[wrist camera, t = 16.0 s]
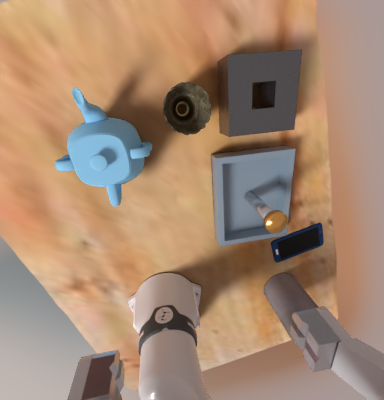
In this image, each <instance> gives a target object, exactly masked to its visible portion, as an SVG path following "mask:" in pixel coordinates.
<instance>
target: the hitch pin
mask: <svg viewBox="0 0 384 400" xmlns="http://www.w3.org/2000/svg"><path fill="white" fill-rule="evenodd" d="M244 198H245V200H246V201H247V202H248V203H249V204H250V205H251V206H252V207H253V208H254V209H255V210H256V212H257V213H258V214H259V215H260V216H261V217H262V218H263V219H264V220H263V224H264V227H265V228H266V229H267V230H268V231H269V232H270V233H279V232H281V231H283V230H284V229H285V228H286V226H287V225H288V217H287V216H286V215H285V214H284V213H283V212H282V211H280V210H273V209H272V208H270V207H269V206H268V205H267V204H266V203H265V202H264V201H263V200H262V199H261V198H259V197H258V196H257V195H256V194H255V193H254V192H253V191H248V192H246V193H245V195H244Z"/></svg>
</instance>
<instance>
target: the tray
mask: <svg viewBox="0 0 384 400" xmlns="http://www.w3.org/2000/svg"><path fill="white" fill-rule="evenodd" d="M295 150H296V149H295V148H292V147H288V146H285V145H283V146H275V147H267V148H259V149H250V150H242V151H234V152H225V153H217V154H211V166H212V186H213V205H214V225H215V238H216V240H217V242H218V244H219V247H221V246H227V245H233V244H239V243H244V242H250V241H256V240H262V239H268V238H274V237H280V236H286V235H287V227H288V225H287V226H286V228H285V229H284V230H283V231H281V232H279V233H270V232H269V231H268V230H267V229H266V228H265V227H264V224H263V220H264V219H263V218H262V217H261V216H260V215H259V214H258V213H257V212H256V210H255V209H254V208H253V207H252V206H251V205H250V204H249V203H248V202H247V201H246V200H245V198H244V195H245V193H246V192H248V191H253V192H254V193H255V194H256V195H257V196H258V197H259V198H261V199H262V200H263V201H264V202H265V203H266V204H267V205H268V206H269V207H270V208H272V209H273V210H280V211H282V212H283V213H284V214H285V215H286V216H287V217H289V207H290V198H291V188H292V179H293V169H294V160H295Z"/></svg>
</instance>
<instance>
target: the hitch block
mask: <svg viewBox="0 0 384 400" xmlns="http://www.w3.org/2000/svg"><path fill="white" fill-rule="evenodd" d="M301 55H302V50H290V51H276V52H262V53H247V54H233V55H227V56H226V57H224V58H223V59H221V60H220V61H218V62H217V64H218V94H219V125H220V133H221V134H224V135H226V136H228V137H232V136H241V135H249V134H258V133H267V132H276V131H285V130H294V126H295V115H296V105H297V95H298V85H299V75H300V65H301ZM254 84H260V96H259V107H256V108H252V85H254Z"/></svg>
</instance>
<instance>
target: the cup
mask: <svg viewBox="0 0 384 400" xmlns="http://www.w3.org/2000/svg"><path fill="white" fill-rule="evenodd" d="M180 104H184V105H185V106H186V112H185V113H183V114H181V113H179V112H178V106H179V105H180ZM163 106H164V109H163V113H164V116H165V119H166V122H167V124H168V125H169V126H170V127H171V128H172V129H173V130H174V131H175V132H176V131H177V132H179V133H183V134H184V135H189V134H196V133H198V132H199V131H200V130H201V129H203V128H205V123H207V122H208V121H209V120H210V115H211V110H210V107H211V103H210V102H209V96H208V93H207V92H206V91H205V90H203V88H202V87H201V86H199V85H198V86H196V85H194V84H190V82H186V83H183V82H182V83H179V84H177V85H176V86H175V87H173V88H171V89H170V92H169V93H168V94H167V95H166V98H165V100H164V105H163Z"/></svg>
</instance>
